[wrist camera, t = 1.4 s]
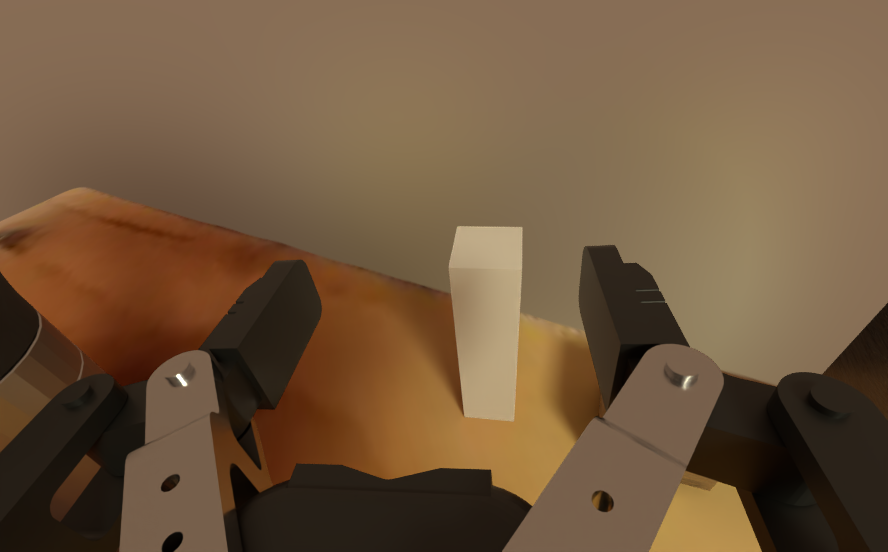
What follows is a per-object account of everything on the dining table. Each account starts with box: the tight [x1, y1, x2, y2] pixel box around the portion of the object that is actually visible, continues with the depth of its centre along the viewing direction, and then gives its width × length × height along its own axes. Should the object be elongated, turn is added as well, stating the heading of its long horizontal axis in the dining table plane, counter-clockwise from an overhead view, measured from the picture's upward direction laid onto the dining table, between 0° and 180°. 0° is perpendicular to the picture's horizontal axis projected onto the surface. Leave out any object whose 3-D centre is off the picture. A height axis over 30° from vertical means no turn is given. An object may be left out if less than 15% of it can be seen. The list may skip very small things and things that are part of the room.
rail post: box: [448, 226, 522, 421], centre depth 28 cm, size 4×4×16 cm
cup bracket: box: [599, 303, 888, 491], centre depth 22 cm, size 15×10×22 cm, turn 71°
